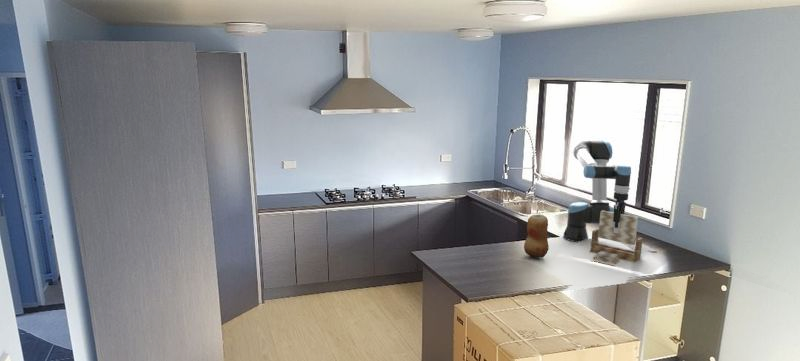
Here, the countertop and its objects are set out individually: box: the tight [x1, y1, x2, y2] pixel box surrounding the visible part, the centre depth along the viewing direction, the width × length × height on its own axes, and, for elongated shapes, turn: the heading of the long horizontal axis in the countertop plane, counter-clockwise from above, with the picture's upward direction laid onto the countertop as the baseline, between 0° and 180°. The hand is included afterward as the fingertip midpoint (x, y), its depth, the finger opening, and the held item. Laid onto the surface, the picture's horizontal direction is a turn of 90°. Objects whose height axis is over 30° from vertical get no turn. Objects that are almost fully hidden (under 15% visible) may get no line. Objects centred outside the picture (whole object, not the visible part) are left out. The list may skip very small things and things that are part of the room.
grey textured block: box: [592, 254, 620, 267], centre depth 284 cm, size 12×7×3 cm, turn 49°
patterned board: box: [598, 210, 639, 245], centre depth 291 cm, size 20×2×16 cm, turn 48°
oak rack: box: [588, 228, 643, 263], centre depth 293 cm, size 26×12×14 cm, turn 48°
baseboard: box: [622, 240, 658, 253], centre depth 319 cm, size 31×3×12 cm
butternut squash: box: [523, 213, 550, 260], centre depth 287 cm, size 14×13×25 cm
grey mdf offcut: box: [596, 251, 618, 261], centre depth 284 cm, size 9×6×2 cm, turn 52°
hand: (617, 232), depth 292 cm, fingers closed on patterned board, 2 cm apart
